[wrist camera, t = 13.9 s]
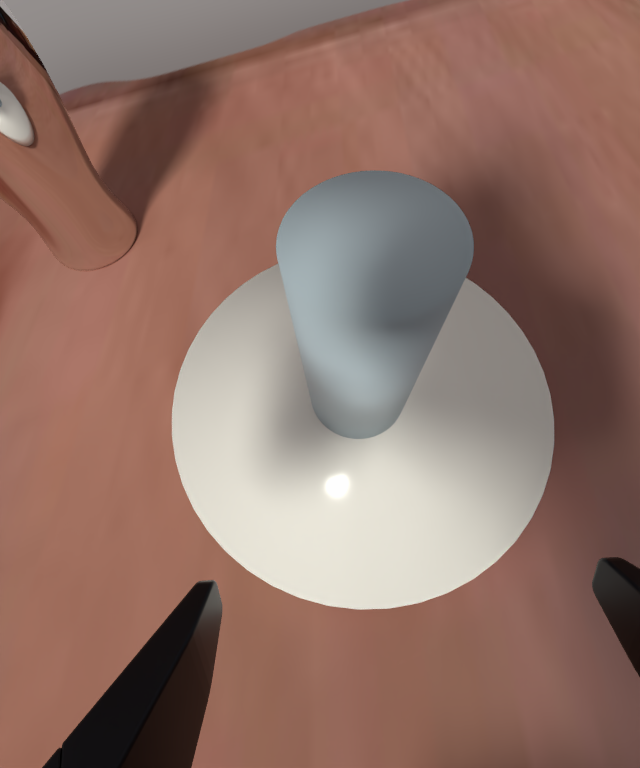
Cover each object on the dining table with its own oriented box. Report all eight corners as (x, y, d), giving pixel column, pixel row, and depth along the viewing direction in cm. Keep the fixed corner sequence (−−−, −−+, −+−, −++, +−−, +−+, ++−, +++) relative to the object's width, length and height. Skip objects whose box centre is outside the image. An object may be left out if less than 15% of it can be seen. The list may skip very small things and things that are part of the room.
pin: (389, 452, 18) (449, 348, 8) (296, 421, 19) (244, 291, 9) (415, 366, 20) (490, 190, 10) (328, 341, 21) (315, 156, 11)
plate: (272, 698, 16) (267, 711, 15) (136, 342, 23) (126, 333, 22) (628, 471, 18) (646, 467, 17) (406, 217, 26) (409, 203, 24)
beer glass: (120, 188, 28) (-93, -143, 14) (160, 243, 26) (-48, -92, 12) (35, 232, 27) (-288, -86, 13) (69, 293, 25) (-282, -16, 11)
